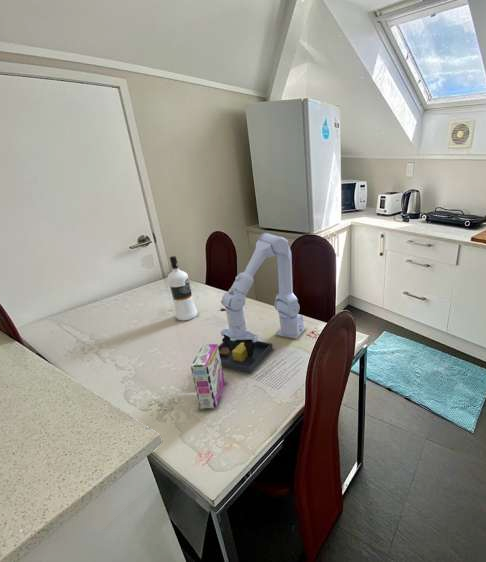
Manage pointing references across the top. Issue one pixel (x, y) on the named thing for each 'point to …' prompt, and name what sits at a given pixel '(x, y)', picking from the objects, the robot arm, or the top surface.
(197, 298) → the top surface
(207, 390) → the candy bar box
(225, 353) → the scrap
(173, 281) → the vodka
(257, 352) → the dark grey tray
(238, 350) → the sponge
